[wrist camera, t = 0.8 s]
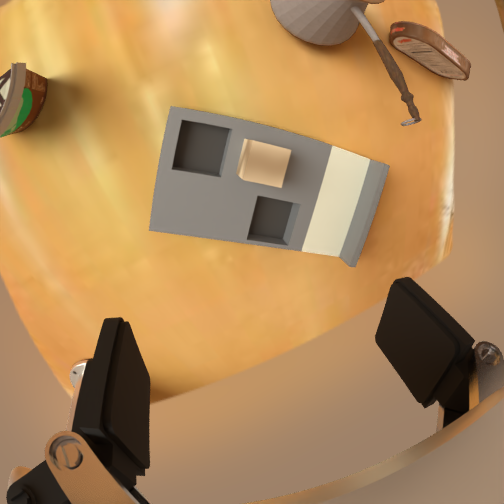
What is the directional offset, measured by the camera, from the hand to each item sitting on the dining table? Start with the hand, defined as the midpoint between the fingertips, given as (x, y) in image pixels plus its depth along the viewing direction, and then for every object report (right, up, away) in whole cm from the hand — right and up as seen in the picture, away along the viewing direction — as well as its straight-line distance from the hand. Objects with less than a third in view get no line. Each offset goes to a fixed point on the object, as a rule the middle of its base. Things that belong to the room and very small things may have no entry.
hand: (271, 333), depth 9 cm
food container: (-29, +20, +14) cm, 38 cm away
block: (0, +13, +21) cm, 25 cm away
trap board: (+1, +11, +25) cm, 27 cm away
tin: (+24, +33, +21) cm, 46 cm away
